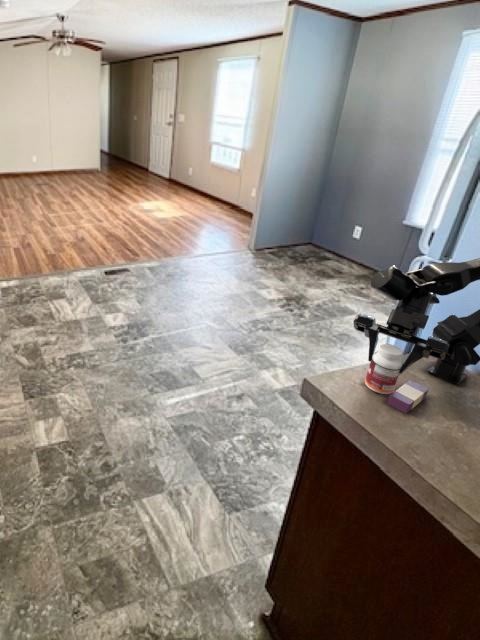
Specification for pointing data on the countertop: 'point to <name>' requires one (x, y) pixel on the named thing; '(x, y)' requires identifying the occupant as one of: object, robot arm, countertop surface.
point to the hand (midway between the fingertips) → (384, 366)
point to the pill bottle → (384, 369)
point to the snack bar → (407, 396)
